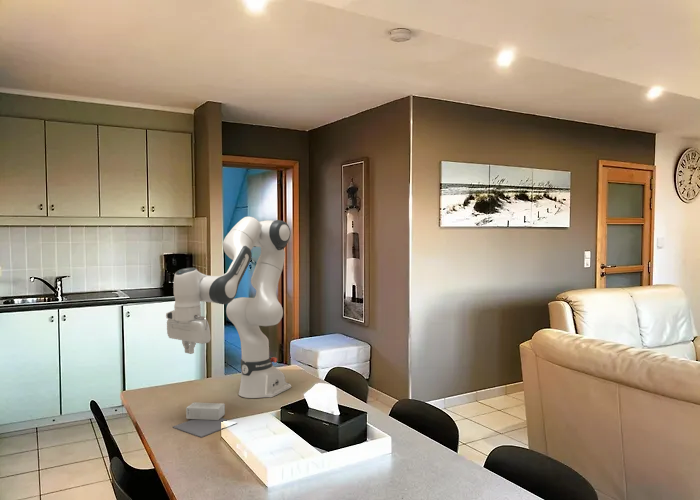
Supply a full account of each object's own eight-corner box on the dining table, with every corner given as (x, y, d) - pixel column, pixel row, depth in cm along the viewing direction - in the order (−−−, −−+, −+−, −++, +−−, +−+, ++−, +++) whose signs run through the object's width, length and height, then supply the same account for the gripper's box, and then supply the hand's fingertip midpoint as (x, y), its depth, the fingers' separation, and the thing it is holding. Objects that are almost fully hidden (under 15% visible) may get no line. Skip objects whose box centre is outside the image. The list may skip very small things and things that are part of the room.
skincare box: (186, 419, 187) (218, 420, 185) (185, 407, 187) (217, 408, 185) (193, 413, 193) (225, 414, 191) (193, 401, 193) (224, 403, 191)
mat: (208, 414, 192) (208, 413, 192) (237, 423, 183) (237, 422, 183) (172, 427, 180) (172, 426, 180) (201, 437, 171) (201, 436, 171)
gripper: (214, 315, 184) (215, 354, 184) (178, 310, 196) (179, 348, 197) (199, 318, 179) (200, 358, 179) (163, 313, 191) (164, 351, 191)
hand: (189, 353), depth 188 cm, fingers closed
